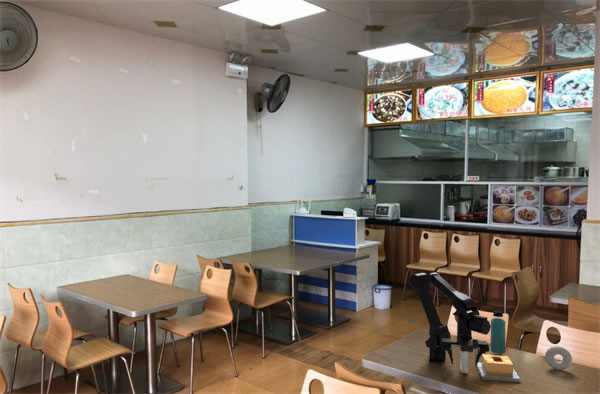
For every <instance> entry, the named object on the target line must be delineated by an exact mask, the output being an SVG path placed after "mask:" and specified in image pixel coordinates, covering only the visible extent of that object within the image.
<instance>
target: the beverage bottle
mask: <svg viewBox="0 0 600 394" xmlns="http://www.w3.org/2000/svg"><path fill="white" fill-rule="evenodd" d="M492 316H493V318H491V319H490V325H491V328H490V331H489V334H490V341H489V343H490V344H489V351H490V352H491V353H492V354H495V355H504V354H506V352H507V350H506V347H507V346H506V345H507V344H506V343H507V342H506V340H507V336H506V323H507V322H506V320H505V319H503V317H504V313H503V311H501V310H493V314H492Z"/></svg>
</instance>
